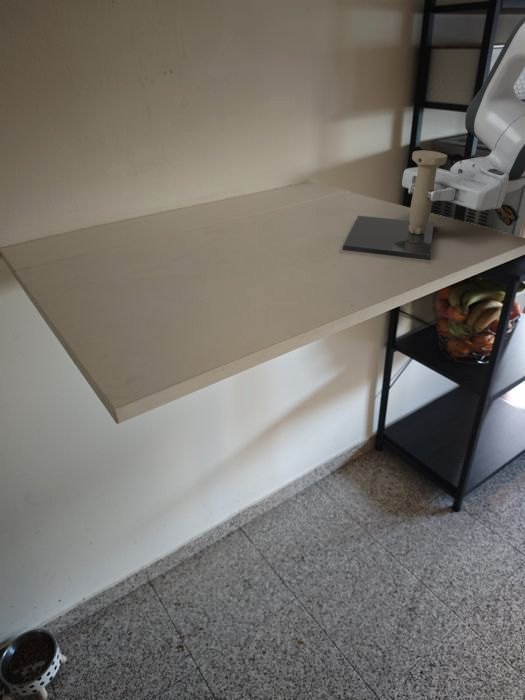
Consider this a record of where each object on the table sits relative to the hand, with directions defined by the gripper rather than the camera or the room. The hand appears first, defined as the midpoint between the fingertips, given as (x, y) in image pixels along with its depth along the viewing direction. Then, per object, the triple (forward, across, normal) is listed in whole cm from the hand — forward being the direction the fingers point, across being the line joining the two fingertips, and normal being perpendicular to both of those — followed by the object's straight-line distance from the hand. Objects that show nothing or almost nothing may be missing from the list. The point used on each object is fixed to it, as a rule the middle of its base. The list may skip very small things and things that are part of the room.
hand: (420, 193), depth 95 cm
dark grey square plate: (+4, -2, +9) cm, 10 cm away
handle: (-1, 0, +8) cm, 8 cm away
